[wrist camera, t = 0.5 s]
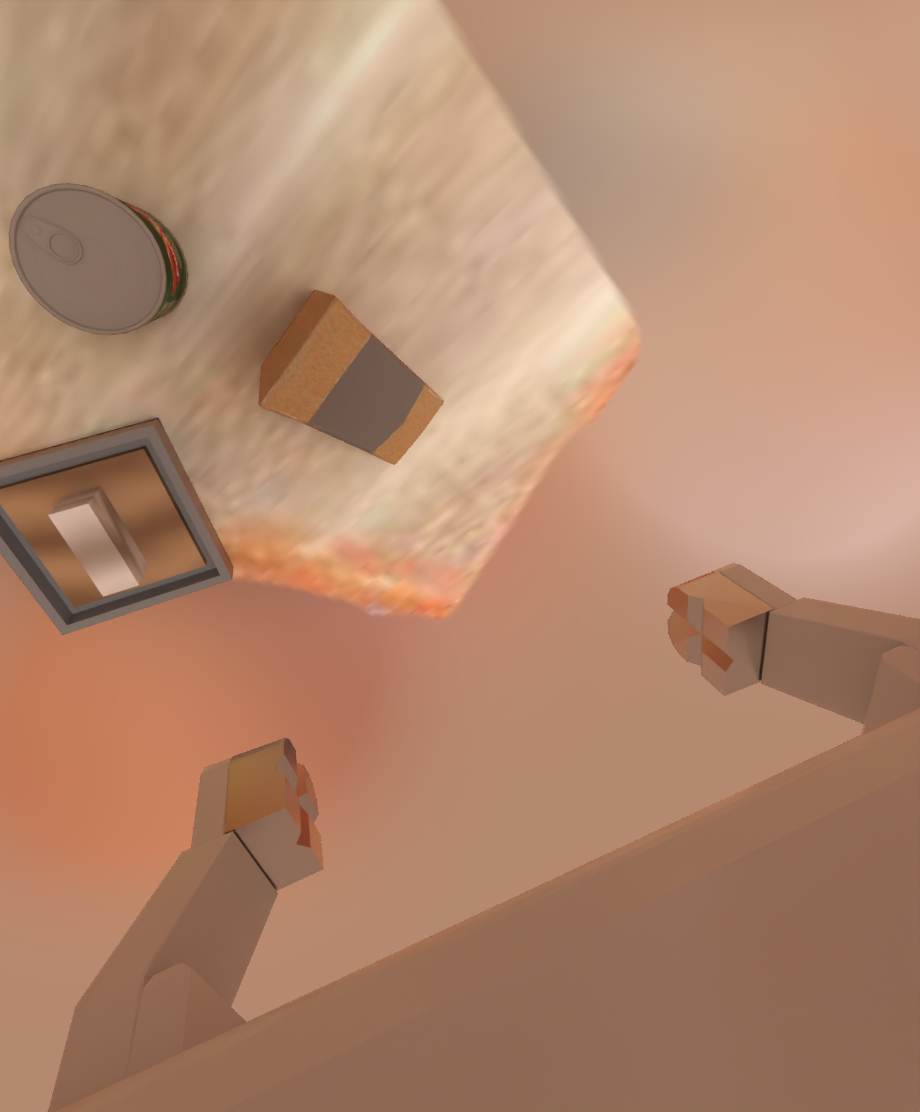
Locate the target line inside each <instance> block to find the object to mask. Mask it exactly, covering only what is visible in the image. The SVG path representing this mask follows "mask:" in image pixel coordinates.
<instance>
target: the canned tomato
mask: <svg viewBox="0 0 920 1112" xmlns="http://www.w3.org/2000/svg"><path fill="white" fill-rule="evenodd" d="M9 245H10V252H11V256H12V260H13V264H14V266H15V269H16V271H17V273H18V275H19V277H20V279H21V281H22V282H23V284H24V285H25V287H26V288H27V290H28V291H29V293H30V294H31V295H32V296H33V297H34V298H35V299H36V301H37V302H38V303H39V304H40V305H41V306H42V307H43V308H45V309H46V310H47V311H48V312H50V313H51V314H52V315H53V316H55V317H56V318H58V319H60V320H61V321H63V322H65V323H66V324H68V325H70V326H73V327H75V328H78V329H80V330H83V331H87V332H91V333H95V334H105V335H116V334H123V333H128V332H130V331H133V330H136V329H138V328H140V327H141V326H143V325H145V324H148V323H150V322H152V321H154V320H156V319H158V318H160V317H163V316H165V315H167V314H168V313H170V312H171V311H173V310H174V309H175V308H176V307H177V306H178V305H179V303H180V302H181V300H182V298H183V296H184V294H185V291H186V287H187V279H188V272H187V264H186V261H185V257H184V254H183V252H182V250H181V248H180V246H179V244H178V242H177V240H176V239H175V237H174V236H173V235H172V233H171V232H170V231H169V230H168V229H167V228H166V227H165V226H164V225H163V224H162V223H161V222H160V221H159V220H158V219H156V218H155V217H154V216H152V215H151V214H150V213H148V212H146V211H144V210H142V209H140V208H138V207H135V206H132V205H130V204H128V203H126V202H123V201H121V200H119V199H117V198H115V197H112V196H110V195H108V194H106V193H104V192H102V191H101V190H97V189H94V188H91V187H88V186H85V185H77V184H69V183H66V184H54V185H50V186H47V187H44V188H41V189H38V190H36V191H35V192H33V193H32V194H30V195H29V196H27V197H26V198H25V199H24V200H23V202H22V203H21V204H20V205H19V206H18V207H17V210H16V212H15V214H14V216H13V218H12V221H11V226H10V231H9Z"/></svg>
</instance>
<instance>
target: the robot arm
mask: <svg viewBox="0 0 920 1112" xmlns="http://www.w3.org/2000/svg"><path fill="white" fill-rule="evenodd" d="M667 602H668V603H667V604H668V605H669V606H670V607H671V608H672V609H673V610H674V611H673V613H672V614H671V616H670V618H669V619H668V634H669V636H670V639H671V641H672V644H673V646H674V647H675V649H676V650H677V652H678V653H679V654H680V655H681V656H682V657H683V658H684V659H685V660H686V661H687V662H691V663H694V664H697V665H701V674H702V676H703V677H704V678H705V679H706V680H707V681H709V682H710V683H711V684H712V685H713V686H714V687H715V688H716V689H717V690H718V691H719V692H720V693H722V694H723V695H724V696H726V695H728V694H731V693H733V692H736V691H738V690H741V689H743V688H746V687H748V686H751V685H753V684H756V683H758V682H761V684H763V685H766V686H769V687H771V688H774V689H776V690H779V691H781V692H784V693H786V694H789V695H792V696H794V697H797V698H799V699H801V700H804V701H807V702H809V703H812V704H814V705H817V706H819V707H822V708H824V709H827V710H830V711H832V712H835V713H837V714H840V715H842V716H845V717H847V718H850V719H852V720H855V721H858V722H860V723H862V724H864V726H863V729H862V733H861V735H860V736H858V737H856V738H853V739H852V740H849V741H847V742H845V743H843V744H841V745H838V746H837V747H834V748H832V749H830V750H828V751H826V752H824V753H821V754H819V755H817V756H815V757H813V758H811V759H808V760H807V761H804V762H802V763H800V764H798V765H796V766H794V767H791V768H789V769H787V770H785V771H783V772H781V773H779V774H777V775H774V776H772V777H770V778H768V779H766V780H764V781H762V782H759V783H757V784H755V785H753V786H751V787H749V788H747V789H744V790H742V791H740V792H738V793H736V794H734V795H732V796H729V797H727V798H726V799H723V800H721V801H719V802H717V803H715V804H713V805H710V806H709V807H706V808H704V809H702V810H700V811H698V812H695V813H694V814H691V815H689V816H687V817H685V818H682V819H680V820H678V821H676V822H674V823H672V824H670V825H668V826H666V827H663V828H661V829H659V830H657V831H655V832H653V833H651V834H648V835H646V836H644V837H642V838H640V839H638V840H635V841H634V842H631V843H629V844H627V845H625V846H623V847H620V848H618V849H616V850H614V851H612V852H610V853H608V854H606V855H603V856H601V857H599V858H597V859H595V860H593V861H591V862H588V863H586V864H584V865H582V866H580V867H578V868H576V869H574V870H571V871H569V872H567V873H565V874H563V875H561V876H559V877H556V878H554V879H552V880H550V881H548V882H546V883H543V884H541V885H539V886H537V887H535V888H533V889H531V890H528V891H526V892H524V893H522V894H520V895H518V896H516V897H514V898H511V899H509V900H507V901H505V902H503V903H501V904H498V905H496V906H494V907H492V908H490V909H488V910H486V911H484V912H481V913H479V914H477V915H475V916H473V917H471V918H468V919H466V920H465V921H462V922H460V923H458V924H456V925H454V926H451V927H449V928H447V929H445V930H443V931H441V932H438V933H437V934H434V935H432V936H430V937H428V938H426V939H424V940H422V941H419V942H417V943H415V944H413V945H411V946H409V947H406V948H404V949H402V950H400V951H398V952H396V953H394V954H391V955H389V956H387V957H385V958H383V959H381V960H379V961H376V962H374V963H372V964H370V965H368V966H366V967H364V968H361V969H359V970H357V971H355V972H353V973H351V974H349V975H347V976H344V977H342V978H340V979H338V980H336V981H334V982H331V983H329V984H327V985H325V986H323V987H321V988H319V989H316V990H314V991H312V992H310V993H308V994H306V995H304V996H302V997H299V998H297V999H295V1000H293V1001H291V1002H289V1003H286V1004H284V1005H282V1006H280V1007H278V1008H276V1009H274V1010H272V1011H269V1012H267V1013H265V1014H263V1015H261V1016H259V1017H257V1018H254V1019H252V1020H250V1021H248V1022H246V1021H245V1020H244V1019H243V1018H242V1017H241V1016H240V1015H239V1014H238V1013H237V1012H236V1011H235V1010H234V1009H233V1008H232V1007H231V1006H232V1003H233V1001H234V998H235V996H236V993H237V991H238V989H239V986H240V984H241V981H242V979H243V977H244V974H245V972H246V969H247V967H248V965H249V962H250V960H251V957H252V955H253V952H254V950H255V948H256V945H257V943H258V940H259V938H260V935H261V933H262V930H263V928H264V926H265V923H266V921H267V919H268V916H269V914H270V911H271V909H272V906H273V904H274V902H275V899H276V897H277V894H278V893H277V890H279V889H281V888H284V887H286V886H288V885H290V884H292V883H294V882H297V881H299V880H301V879H303V878H305V877H307V876H309V875H312V874H314V873H316V872H318V871H320V870H322V869H324V868H323V856H322V845H321V835H320V834H319V832H318V830H317V828H316V827H315V825H314V822H315V820H316V818H317V816H318V805H317V798H316V795H315V790H314V786H313V783H312V781H311V778H310V776H309V773H308V772H307V770H306V768H305V766H304V765H301V764H299V763H297V760H296V750H295V748H294V746H293V745H292V743H291V741H290V740H289V739H288V738H283V739H280V740H278V741H275V742H272V743H269V744H266V745H264V746H261V747H258V748H255V749H253V750H250V751H247V752H244V753H241V754H239V755H236V756H233V757H232V758H230V759H227V760H224V761H221V762H219V763H216V764H213V765H210V766H207V767H205V768H204V770H203V772H202V774H201V776H200V783H199V791H198V798H197V806H196V814H195V822H194V828H193V836H192V843H191V848H190V849H188V850H186V851H183V852H182V853H181V854H180V856H179V857H178V859H177V860H176V862H175V863H174V865H173V866H172V867H171V869H170V870H169V872H168V873H167V875H166V876H165V878H164V879H163V880H162V882H161V883H160V885H159V886H158V888H157V889H156V891H155V892H154V894H153V895H152V896H151V898H150V899H149V901H148V902H147V904H146V905H145V907H144V908H143V910H142V911H141V912H140V914H139V915H138V917H137V918H136V920H135V921H134V922H133V924H132V925H131V927H130V928H129V930H128V931H127V933H126V934H125V936H124V937H123V938H122V940H121V941H120V943H119V944H118V946H117V947H116V949H115V950H114V951H113V953H112V954H111V956H110V957H109V959H108V960H107V962H106V963H105V964H104V966H103V967H102V969H101V970H100V972H99V973H98V975H97V976H96V977H95V979H94V981H93V982H92V983H91V985H90V986H89V988H88V989H87V990H86V992H85V994H84V995H83V996H82V998H81V999H80V1001H79V1002H78V1004H77V1005H76V1007H75V1010H74V1015H73V1018H72V1022H71V1026H70V1030H69V1034H68V1037H67V1041H66V1045H65V1049H64V1052H63V1056H62V1060H61V1064H60V1068H59V1072H58V1075H57V1080H56V1083H55V1087H54V1091H53V1094H52V1098H51V1102H50V1106H49V1110H48V1112H920V619H916V618H911V617H905V616H900V615H894V614H889V613H884V612H878V611H873V610H868V609H862V608H857V607H852V606H846V605H841V604H835V603H830V602H825V601H819V600H814V599H809V598H802V599H799V600H797V599H795V598H793V597H792V596H790V595H788V594H787V593H785V592H784V591H782V590H780V589H779V588H777V587H776V586H774V585H772V584H771V583H769V582H768V581H766V580H764V579H763V578H761V577H759V576H758V575H756V574H755V573H753V572H751V571H750V570H748V569H746V568H745V567H743V566H742V565H739V564H734V563H732V564H729V565H727V566H724V567H722V568H720V569H717V570H715V571H712V572H711V573H708V574H705V575H703V576H700V577H698V578H695V579H693V580H690V581H688V582H685V583H683V584H680V585H678V586H675V587H673V588H670V590H669V593H668V601H667Z"/></svg>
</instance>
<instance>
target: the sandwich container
mask: <svg viewBox="0 0 920 1112" xmlns="http://www.w3.org/2000/svg"><path fill="white" fill-rule="evenodd" d="M443 402H444V400H443V399H442V398H441V397H440V396H439V395H438V394H437V393H435V392H434V391H433V390H432V389H431V388H430V387H429V386H428V385H427V384H426V383H425V382H423V381H422V380H421V379H420V378H419V377H418V376H417V375H416V374H415V373H414V372H412V371H411V370H410V369H409V368H408V367H407V366H406V365H405V364H404V363H403V362H402V361H401V360H400V359H399V358H398V357H397V356H395V355H394V354H393V353H392V352H391V351H390V350H389V349H388V348H387V347H386V346H385V345H384V344H382V343H381V342H380V341H379V340H378V339H377V338H376V337H375V336H374V335H373V334H372V333H371V332H370V331H369V330H368V329H366V328H365V327H364V326H363V325H362V324H361V323H360V322H359V321H358V320H357V319H356V318H355V317H354V316H353V315H352V313H351V312H350V311H349V310H348V309H347V308H346V307H345V306H344V305H343V304H342V303H341V302H340V301H339V300H338V299H337V298H336V297H335V296H333V295H330V294H327V293H324V292H320V291H315V290H314V292H313V293H312V294H311V296H310V297H309V299H308V300H307V302H306V303H305V305H304V306H303V307H302V309H301V310H300V312H299V313H298V315H297V316H296V317H295V319H294V320H293V322H292V323H291V325H290V326H289V327H288V329H287V330H286V332H285V333H284V335H283V336H282V338H281V339H280V340H279V342H278V343H277V345H276V346H275V348H274V349H273V351H272V352H271V354H270V355H269V356H268V358H267V359H266V361H265V362H264V364H263V365H262V367H261V378H260V392H259V405H260V406H261V407H262V408H264V409H267V410H269V411H272V412H275V413H277V414H280V415H283V416H285V417H288V418H290V419H293V420H296V421H298V422H301V423H304V424H306V425H308V426H311V427H313V428H315V429H317V430H320V431H322V432H324V433H326V434H328V435H331V436H333V437H335V438H337V439H339V440H342V441H344V442H346V443H348V444H351V445H353V446H355V447H357V448H359V449H362V450H364V451H366V452H368V453H371V454H373V455H375V456H377V457H379V458H381V459H383V460H385V461H387V462H389V463H391V464H393V465H395V464H396V463H397V462H398V461H399V460H400V458H401V457H402V456H403V455H404V454H405V453H406V451H407V450H408V449H409V448H410V447H411V445H412V444H413V443H414V442H415V441H416V439H417V438H418V437H419V436H420V435H421V433H422V432H423V430H424V429H425V428H426V426H427V425H428V424H429V422H430V421H431V419H432V418H433V417H434V415H435V414H436V413H437V411H438V410H439V408H440V407H441V406H442V404H443Z"/></svg>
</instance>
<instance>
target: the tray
mask: <svg viewBox="0 0 920 1112" xmlns="http://www.w3.org/2000/svg"><path fill="white" fill-rule="evenodd" d="M142 446H146V447H147V448H148V450H149V452H150V454H151V456H152V458H153V460H154V462H155V464H156V465H157V467H158V469H159V471H160V473H161V475H162V477H163V479H164V481H165V482H166V484H167V486H168V488H169V490H170V492H171V494H172V496H173V498H174V499H175V501H176V503H177V505H178V507H179V509H180V511H181V513H182V515H183V516H184V518H185V520H186V522H187V524H188V526H189V528H190V530H191V532H192V533H193V535H194V537H195V539H196V541H197V543H198V545H199V547H200V549H201V550H202V552H203V554H204V556H205V558H206V560H207V564H206V566H204V567H201V568H198V569H194V570H191V571H188V572H185V573H182V574H179V575H176V576H173V577H170V578H166V579H163V580H160V581H157V582H154V583H151V584H148V585H145V586H142V587H138V588H135V589H132V590H129V591H126V592H123V593H120V594H117V595H114V596H110V597H107V598H104V599H101V600H98V601H95V602H92V603H89V604H86V605H82V606H79V607H76V608H75V607H74V606H73V605H72V603H71V602H70V600H69V599H68V598H67V596H66V595H65V593H64V592H63V591H62V589H61V588H60V586H59V585H58V584H57V582H56V581H55V580H54V578H53V577H52V575H51V574H50V573H49V571H48V570H47V568H46V567H45V566H44V564H43V563H42V562H41V560H40V559H39V557H38V556H37V555H36V553H35V552H34V550H33V549H32V548H31V546H30V545H29V543H28V542H27V541H26V539H25V538H24V537H23V535H22V534H21V532H20V531H19V530H18V528H17V527H16V525H15V524H14V523H13V521H12V520H11V519H10V517H9V516H8V514H7V513H6V512H5V510H4V509H3V507H2V506H1V505H0V553H1V555H2V556H3V557H4V559H5V560H6V561H7V563H8V564H9V565H10V567H11V568H12V569H13V570H14V572H15V573H16V574H17V576H18V577H19V578H20V580H21V581H22V582H23V584H24V585H25V586H26V587H27V589H28V590H29V591H30V593H31V594H32V595H33V597H34V598H35V599H36V601H37V602H38V603H39V605H40V606H41V607H42V609H43V610H44V611H45V613H46V614H47V615H48V616H49V618H50V619H51V620H52V622H53V623H54V624H55V626H56V627H57V628H58V630H59V631H60V632H61V633H62V635H64V634H67V633H70V632H73V631H76V630H79V629H82V628H85V627H89V626H91V625H94V624H98V623H101V622H104V621H106V620H110V619H113V618H116V617H119V616H122V615H125V614H128V613H131V612H134V611H137V610H140V609H143V608H146V607H149V606H153V605H155V604H159V603H161V602H165V601H168V600H171V599H174V598H177V597H180V596H183V595H186V594H189V593H192V592H195V591H198V590H201V589H204V588H207V587H210V586H213V585H216V584H220V583H223V582H225V581H229V580H232V576H233V565H232V563H231V561H230V559H229V557H228V555H227V553H226V551H225V549H224V547H223V545H222V543H221V541H220V540H219V538H218V536H217V534H216V532H215V530H214V528H213V526H212V524H211V522H210V520H209V518H208V516H207V514H206V512H205V510H204V508H203V506H202V504H201V502H200V500H199V498H198V496H197V494H196V492H195V490H194V488H193V486H192V484H191V482H190V480H189V478H188V476H187V474H186V472H185V470H184V468H183V466H182V464H181V462H180V460H179V458H178V456H177V454H176V452H175V450H174V448H173V446H172V444H171V442H170V440H169V438H168V436H167V434H166V432H165V430H164V428H163V426H162V424H161V422H160V420H159V418H156V419H152V420H148V421H145V422H141V423H137V424H134V425H130V426H127V427H123V428H119V429H116V430H112V431H108V432H105V433H101V434H97V435H94V436H90V437H86V438H83V439H79V440H75V441H72V442H68V443H64V444H61V445H57V446H53V447H50V448H46V449H42V450H39V451H35V452H32V453H28V454H24V455H21V456H17V457H13V458H10V459H6V460H2V461H0V486H3V485H7V484H11V483H14V482H18V481H21V480H25V479H28V478H32V477H35V476H39V475H43V474H46V473H50V472H53V471H57V470H60V469H64V468H68V467H71V466H75V465H78V464H82V463H85V462H89V461H92V460H96V459H100V458H103V457H107V456H110V455H114V454H117V453H121V452H125V451H128V450H132V449H135V448H139V447H142Z"/></svg>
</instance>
